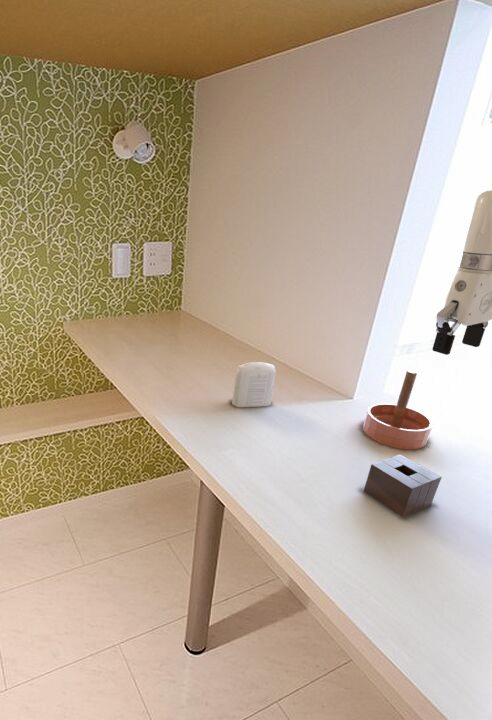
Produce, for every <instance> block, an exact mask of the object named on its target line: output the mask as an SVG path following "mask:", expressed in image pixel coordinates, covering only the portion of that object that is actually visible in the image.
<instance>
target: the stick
mask: <svg viewBox="0 0 492 720" xmlns="http://www.w3.org/2000/svg"><path fill="white" fill-rule="evenodd" d="M417 376H418V371H417V370H415V369H414V370H413V369H407V370H406V372H405V376H404V379H403V382H402V386H401V389H400V392H399V395H398V398H397V402H396V409H395V412H394V415H393V419H392V422H391V424H389V425H390V426H393V427H397V428H402V427H401V423H402V420H403V417H404V414H405V411H406V407H408V404H409V401H410V398H411V395H412V392H413V388H414V385H415V381H416V378H417Z"/></svg>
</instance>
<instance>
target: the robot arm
mask: <svg viewBox="0 0 492 720" xmlns="http://www.w3.org/2000/svg"><path fill="white" fill-rule="evenodd" d="M470 216H471V217H470V220H469V223H468V227H467V230H466V234H465V237H464V240H463V245H462V247H461V252H460V254H459V259H458V262H457V265H456V270H457V271H456V273H455V275H454V277H453V279H452V282H451V284H450V287H449V289H448V292H447V295H446V298H445V301H444V304H443V307H442V309H441V310H439V312H437V313H436V323H435V326H436V329H435V332H436V334H435V338H434V342H433V344H432V351H433V352H435V353H439V354H442V355H446V356H447V355H450V354H451V351H452V348H453V344H454V342H455V338H456V335H455V334H454V333H456V331H457V330H458V329H459V327H460V326H461V325H462V326H464V327H466V329H465V330H464V335H463V337H462V340H461V343H462V344H463V345H466V346H471V347H474V348H479V347H480V346H481V343H482V340H483V338H484V334H485V331H486V328H487V327H488V325H489V321H491V320H492V189H491V190H486V191H483V192H481V193H480V194H479V195H478V196H477V198H476V200H475V203H474V206H473V210H472V212H471V215H470ZM450 324H451V326H450Z"/></svg>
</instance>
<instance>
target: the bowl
mask: <svg viewBox="0 0 492 720" xmlns="http://www.w3.org/2000/svg"><path fill="white" fill-rule="evenodd" d="M396 405H397V403H396V404H394V403H375V404H372V405H370V406H369V407H368V408H367V409H366V413H365V417H364V421H363V424H362V430H363V432H364V434H365V435H366V436H368V437H369V438H370V439H372V440H373V441H375V442H377V443H380V444H382V445H385V446H387V447H391V448H395V449H400V450H418V449H422V448H423V447H426V445H427V443H428V441H429V437H430V436H431V432H432V429H433V426H434V422H433V420H432V419H431V418H430V417H429V416H428V415H426V414H425V413H423V412H421V411H419V410H417V409H415V408H413V407H409V406H407V407H406V411H405V414H404V417H403V420H402V423H401V427H400V428H397V427H393V426H390V425H391V422H392V419H393V415H394V412H395V409H396Z"/></svg>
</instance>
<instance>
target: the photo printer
mask: <svg viewBox="0 0 492 720" xmlns="http://www.w3.org/2000/svg"><path fill="white" fill-rule="evenodd" d="M275 379H276V366H275V365H274V364H271V363H269V362H265V361H264V362H263V361H251V362H246V363H242V364H239V365H238V366H236V369H235V376H234V385H233V391H232V392H233V393H232V400H231V401H232V402H231V403H232V404H231V405H232V406H234V407H236V408H256V407H258V408H259V407H270V406H271V403H272V397H273V392H274V386H275V381H276V380H275Z"/></svg>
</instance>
